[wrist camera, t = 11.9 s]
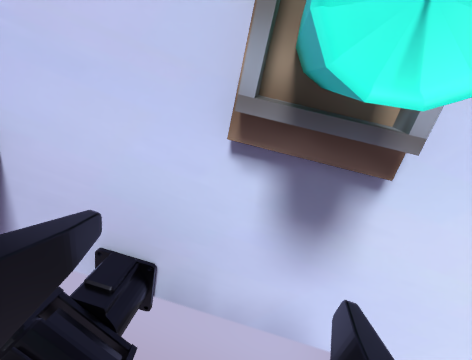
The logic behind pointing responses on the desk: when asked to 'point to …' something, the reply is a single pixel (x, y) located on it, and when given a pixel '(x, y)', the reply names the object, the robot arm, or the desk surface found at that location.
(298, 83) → the holder base
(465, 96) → the candle
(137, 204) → the desk surface
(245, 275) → the desk surface
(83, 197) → the desk surface
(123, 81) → the desk surface
